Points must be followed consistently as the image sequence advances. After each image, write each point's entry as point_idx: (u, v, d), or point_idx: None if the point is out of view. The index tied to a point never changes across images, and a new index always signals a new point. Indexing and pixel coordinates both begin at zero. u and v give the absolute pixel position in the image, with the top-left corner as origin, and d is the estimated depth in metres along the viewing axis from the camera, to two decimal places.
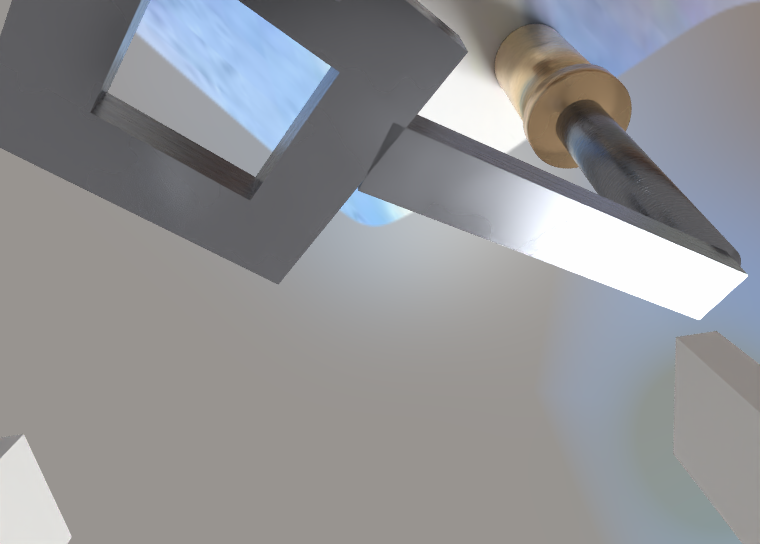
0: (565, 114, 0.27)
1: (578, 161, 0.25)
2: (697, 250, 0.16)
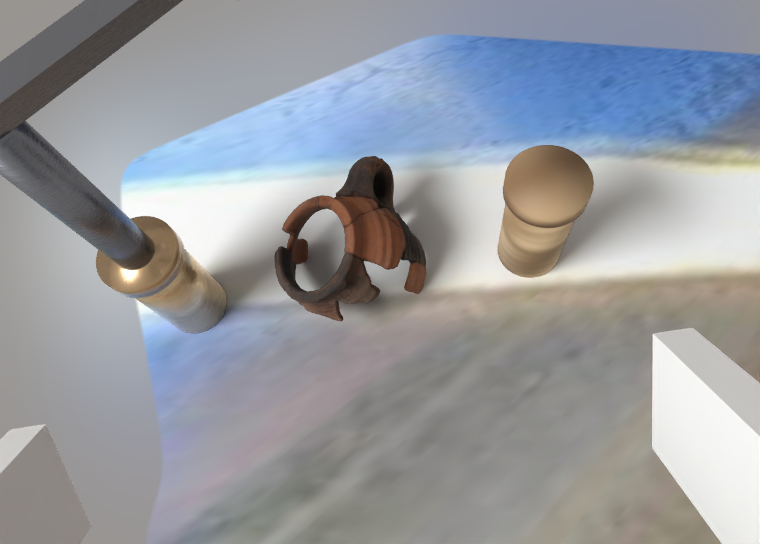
0: (148, 237, 0.33)
1: None
2: (23, 93, 0.22)
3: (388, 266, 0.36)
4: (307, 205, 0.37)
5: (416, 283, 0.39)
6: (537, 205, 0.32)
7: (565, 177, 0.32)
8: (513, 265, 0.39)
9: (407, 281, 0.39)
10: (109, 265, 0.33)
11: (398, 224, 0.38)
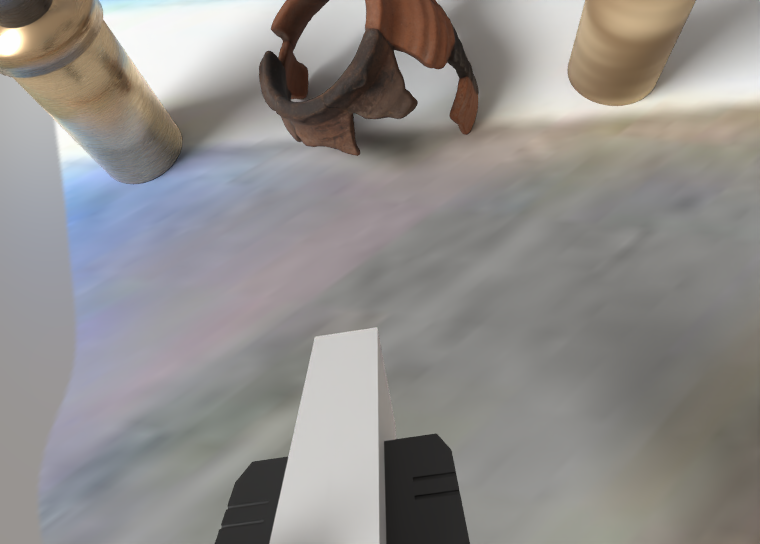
0: None
1: None
2: None
3: (430, 61, 0.23)
4: None
5: (466, 111, 0.26)
6: None
7: None
8: (594, 82, 0.27)
9: (455, 105, 0.26)
10: None
11: (444, 13, 0.25)
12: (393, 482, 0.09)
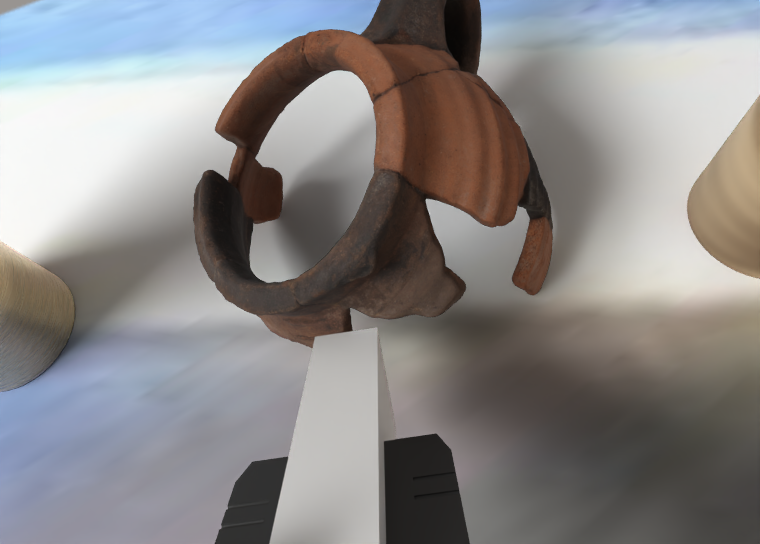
0: None
1: None
2: None
3: (492, 217, 0.13)
4: (275, 60, 0.14)
5: (540, 270, 0.16)
6: None
7: None
8: (747, 249, 0.16)
9: (522, 265, 0.16)
10: None
11: (509, 115, 0.15)
12: (393, 482, 0.09)
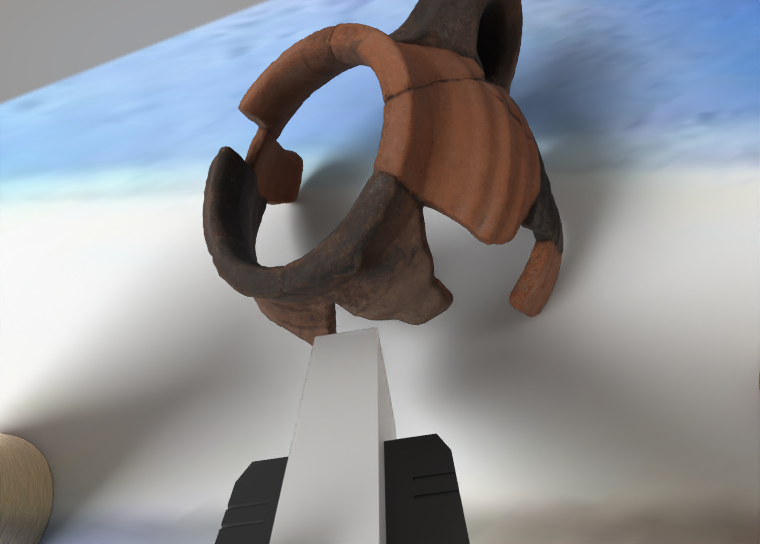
0: None
1: None
2: None
3: (488, 235, 0.13)
4: (302, 47, 0.15)
5: (539, 294, 0.16)
6: None
7: None
8: None
9: (520, 286, 0.15)
10: None
11: (528, 133, 0.14)
12: (393, 482, 0.09)
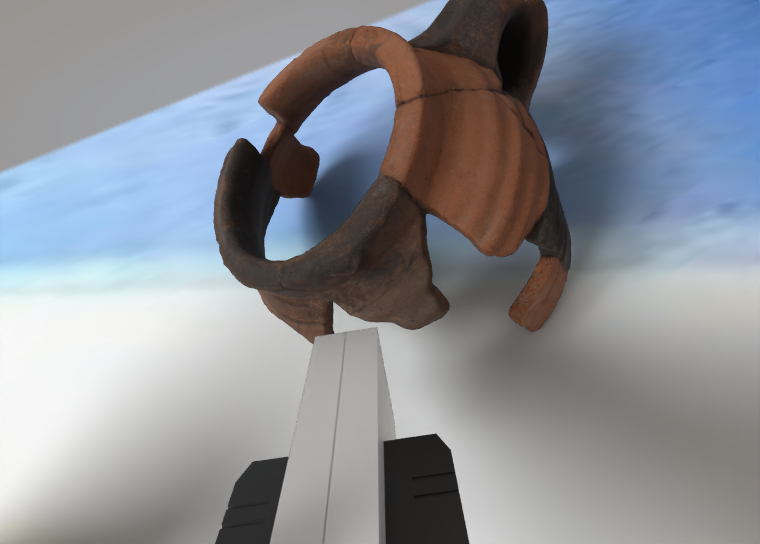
0: None
1: None
2: None
3: (490, 246, 0.13)
4: (324, 46, 0.15)
5: (540, 309, 0.16)
6: None
7: None
8: None
9: (521, 300, 0.15)
10: None
11: (541, 148, 0.14)
12: (392, 482, 0.09)
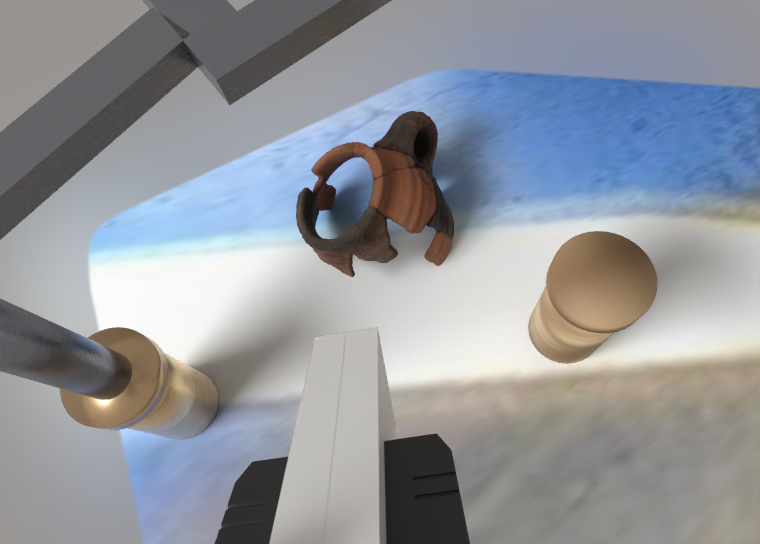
0: (124, 357, 0.27)
1: None
2: None
3: (411, 229, 0.34)
4: (341, 150, 0.35)
5: (438, 254, 0.37)
6: (592, 310, 0.27)
7: (623, 273, 0.27)
8: (549, 352, 0.34)
9: (429, 250, 0.36)
10: (76, 392, 0.27)
11: (431, 188, 0.35)
12: (393, 482, 0.09)
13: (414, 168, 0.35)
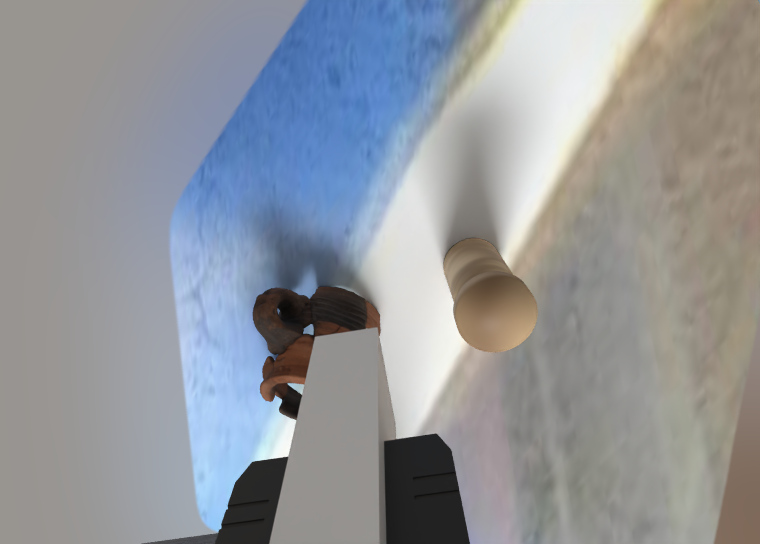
0: None
1: None
2: None
3: None
4: (269, 386, 0.39)
5: (378, 325, 0.43)
6: (513, 337, 0.34)
7: (503, 302, 0.34)
8: None
9: None
10: None
11: (335, 328, 0.39)
12: (393, 482, 0.09)
13: None
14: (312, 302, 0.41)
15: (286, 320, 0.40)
